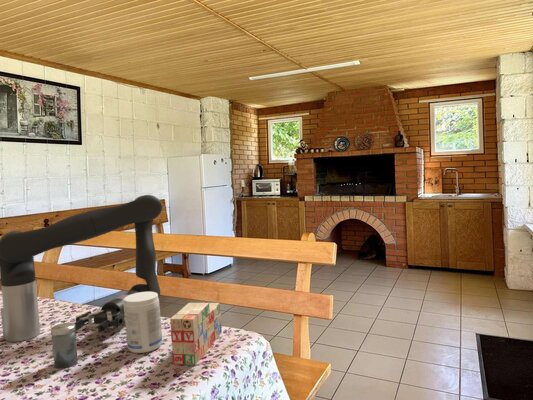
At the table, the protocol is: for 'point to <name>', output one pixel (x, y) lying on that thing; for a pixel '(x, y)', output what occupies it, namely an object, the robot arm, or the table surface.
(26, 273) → the robot arm
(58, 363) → the tea tin
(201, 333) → the stack of blocks
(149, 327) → the supplement tub
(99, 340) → the table surface
